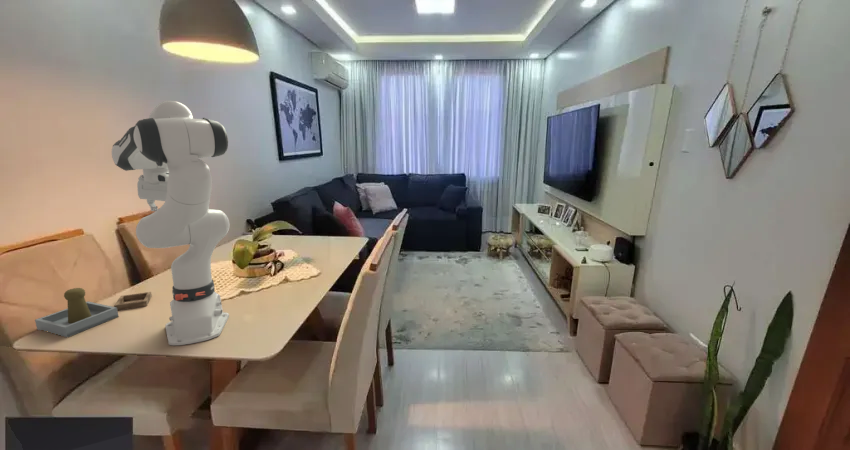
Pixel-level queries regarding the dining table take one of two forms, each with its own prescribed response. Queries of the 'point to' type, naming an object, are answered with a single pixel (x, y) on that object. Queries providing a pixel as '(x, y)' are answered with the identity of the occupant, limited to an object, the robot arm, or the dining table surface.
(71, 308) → the olive tapered knobbed cylinder
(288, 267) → the dining table surface
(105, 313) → the tray
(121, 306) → the holder collar
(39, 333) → the dining table surface
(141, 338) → the dining table surface
